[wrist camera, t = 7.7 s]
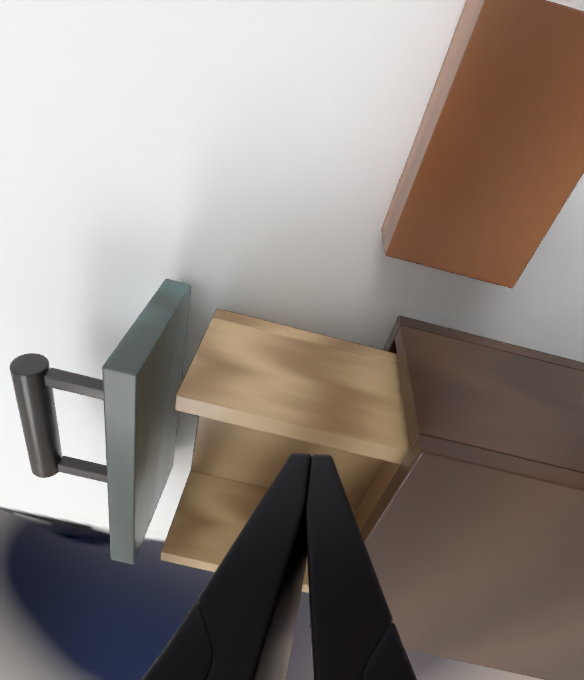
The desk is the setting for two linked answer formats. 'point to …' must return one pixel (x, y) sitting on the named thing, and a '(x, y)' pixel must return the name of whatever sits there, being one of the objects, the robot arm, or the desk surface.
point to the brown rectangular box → (494, 143)
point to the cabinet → (485, 505)
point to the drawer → (220, 422)
